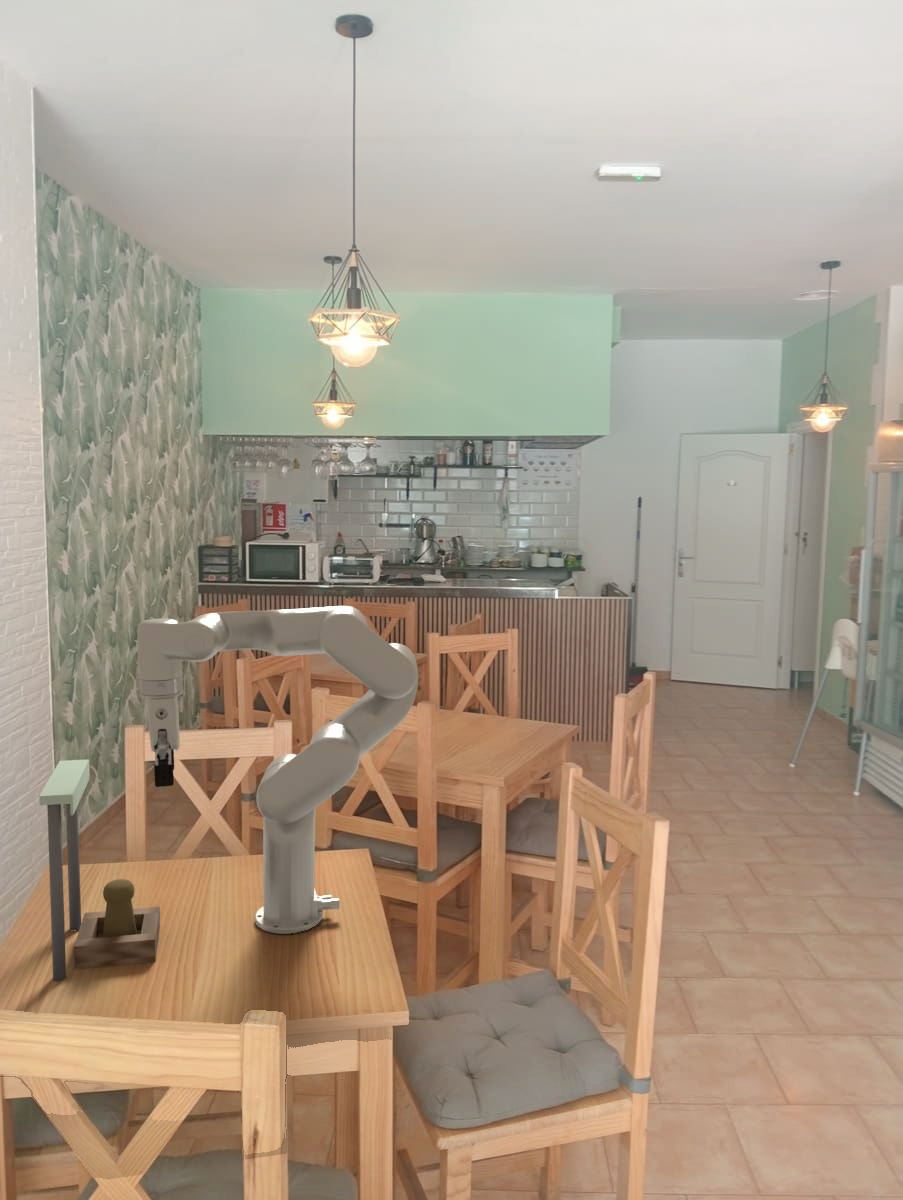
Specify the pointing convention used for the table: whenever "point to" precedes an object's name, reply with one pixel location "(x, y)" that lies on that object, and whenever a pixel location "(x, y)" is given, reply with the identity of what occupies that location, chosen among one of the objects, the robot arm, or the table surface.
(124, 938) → the socket block
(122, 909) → the olive pawn
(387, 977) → the table surface
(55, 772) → the stand
